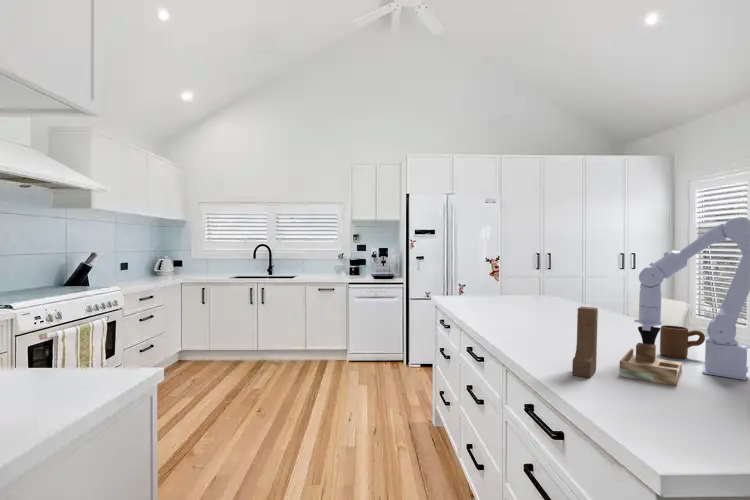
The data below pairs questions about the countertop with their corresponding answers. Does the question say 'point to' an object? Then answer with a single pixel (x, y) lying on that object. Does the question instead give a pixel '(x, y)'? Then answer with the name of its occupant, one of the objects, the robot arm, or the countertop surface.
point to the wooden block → (586, 342)
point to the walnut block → (645, 352)
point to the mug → (677, 341)
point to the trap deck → (650, 369)
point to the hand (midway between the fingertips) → (648, 350)
